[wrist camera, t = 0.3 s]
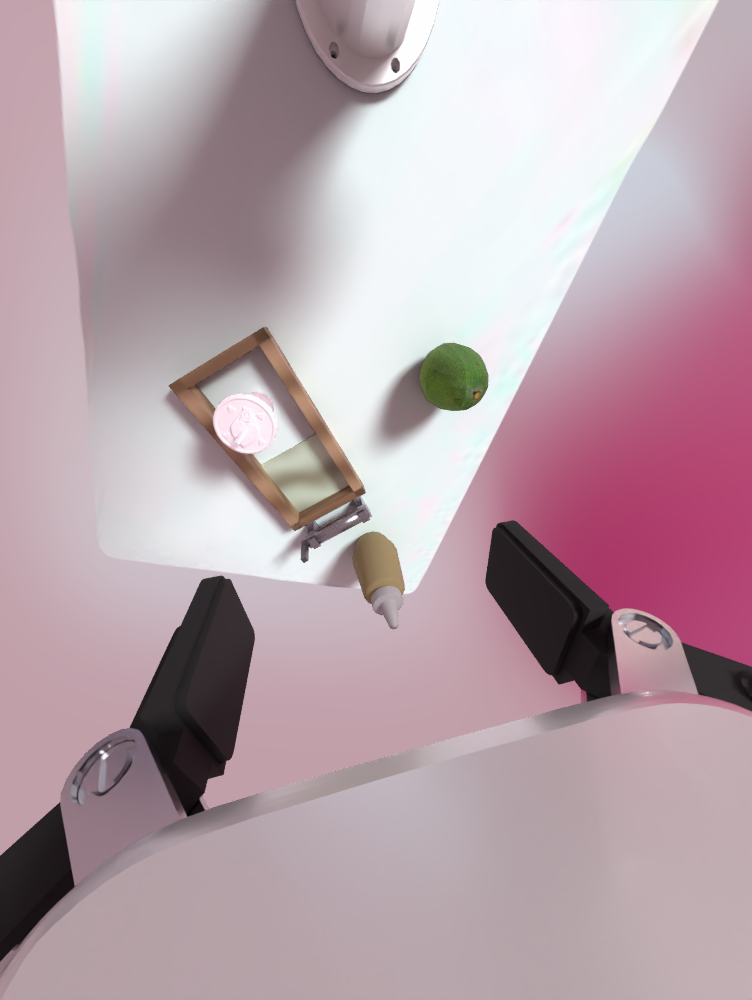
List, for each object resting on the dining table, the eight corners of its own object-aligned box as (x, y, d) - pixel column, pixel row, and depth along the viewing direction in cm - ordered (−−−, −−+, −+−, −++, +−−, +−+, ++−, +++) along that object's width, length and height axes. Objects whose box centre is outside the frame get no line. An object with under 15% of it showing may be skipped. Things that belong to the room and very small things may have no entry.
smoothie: (232, 424, 40) (198, 464, 28) (234, 375, 37) (198, 396, 25) (280, 433, 42) (268, 475, 30) (286, 387, 39) (275, 413, 27)
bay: (178, 381, 36) (168, 385, 34) (266, 327, 35) (263, 327, 33) (295, 520, 49) (294, 531, 47) (362, 484, 48) (365, 492, 46)
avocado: (408, 401, 43) (438, 424, 33) (413, 340, 39) (449, 345, 29) (459, 401, 44) (502, 422, 34) (468, 342, 40) (521, 347, 30)
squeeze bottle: (357, 565, 57) (373, 651, 42) (344, 534, 53) (357, 618, 38) (396, 552, 57) (427, 633, 42) (386, 520, 53) (417, 598, 38)
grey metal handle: (299, 526, 50) (297, 556, 44) (361, 492, 49) (368, 518, 43) (307, 535, 51) (306, 566, 45) (367, 503, 50) (376, 529, 44)
